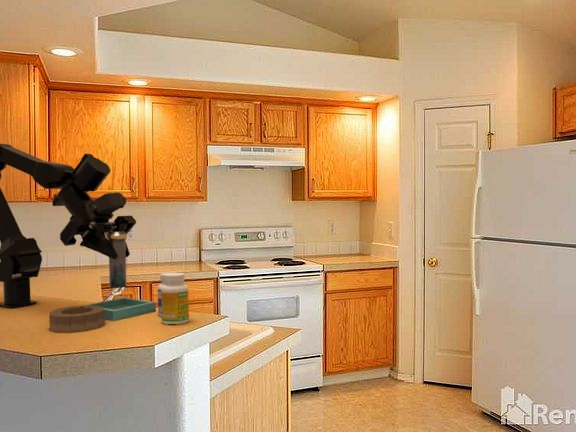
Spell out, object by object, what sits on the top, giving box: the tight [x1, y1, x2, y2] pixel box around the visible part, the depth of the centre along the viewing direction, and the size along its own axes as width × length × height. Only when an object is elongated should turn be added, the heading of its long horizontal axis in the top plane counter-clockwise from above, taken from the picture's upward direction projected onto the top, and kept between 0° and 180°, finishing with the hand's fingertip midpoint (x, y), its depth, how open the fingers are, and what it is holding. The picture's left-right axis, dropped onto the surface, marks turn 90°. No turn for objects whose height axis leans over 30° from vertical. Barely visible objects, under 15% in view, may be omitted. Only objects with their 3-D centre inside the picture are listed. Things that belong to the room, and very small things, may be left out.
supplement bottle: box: [161, 272, 190, 325], centre depth 106 cm, size 5×5×10 cm
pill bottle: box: [157, 271, 175, 317], centre depth 113 cm, size 5×5×9 cm
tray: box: [81, 296, 157, 322], centre depth 115 cm, size 11×11×2 cm
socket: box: [48, 305, 106, 333], centre depth 104 cm, size 10×10×3 cm
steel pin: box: [107, 231, 128, 289], centre depth 115 cm, size 4×4×12 cm
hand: (122, 256), depth 114 cm, fingers closed on steel pin, 3 cm apart
